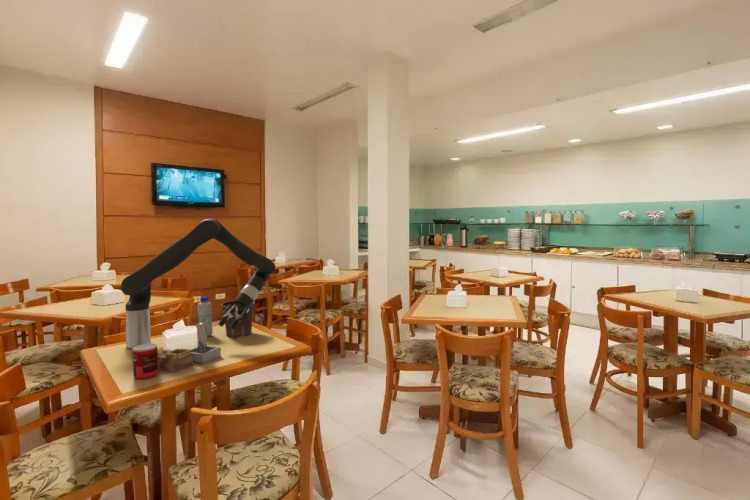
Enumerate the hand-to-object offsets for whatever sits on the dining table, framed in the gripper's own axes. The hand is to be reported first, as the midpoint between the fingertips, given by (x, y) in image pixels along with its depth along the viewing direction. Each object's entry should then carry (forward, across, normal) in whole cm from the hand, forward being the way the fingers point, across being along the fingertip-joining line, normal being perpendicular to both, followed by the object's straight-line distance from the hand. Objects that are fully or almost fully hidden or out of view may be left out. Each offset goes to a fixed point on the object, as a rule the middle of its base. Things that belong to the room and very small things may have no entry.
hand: (225, 327), depth 168 cm
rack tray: (+16, 0, 0) cm, 16 cm away
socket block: (+24, -3, -9) cm, 26 cm away
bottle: (+2, -31, +14) cm, 34 cm away
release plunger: (+24, -8, -11) cm, 28 cm away
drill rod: (+15, 0, -1) cm, 15 cm away
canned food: (+31, 0, -16) cm, 35 cm away
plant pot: (-6, -19, +22) cm, 30 cm away
